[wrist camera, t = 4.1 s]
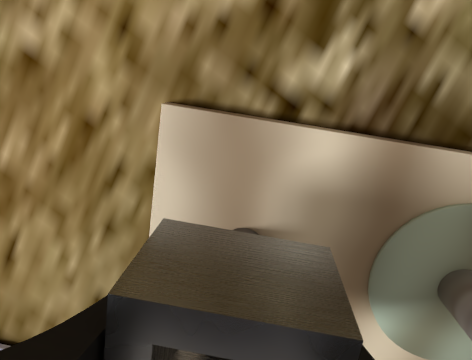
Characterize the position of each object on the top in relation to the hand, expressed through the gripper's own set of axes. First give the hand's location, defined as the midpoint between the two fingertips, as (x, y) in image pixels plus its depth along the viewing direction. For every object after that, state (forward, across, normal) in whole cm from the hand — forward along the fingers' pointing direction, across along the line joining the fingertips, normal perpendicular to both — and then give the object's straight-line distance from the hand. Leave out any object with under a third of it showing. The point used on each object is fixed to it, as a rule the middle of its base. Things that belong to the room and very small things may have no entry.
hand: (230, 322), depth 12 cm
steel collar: (+1, 0, 0) cm, 1 cm away
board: (+6, -5, 0) cm, 8 cm away
